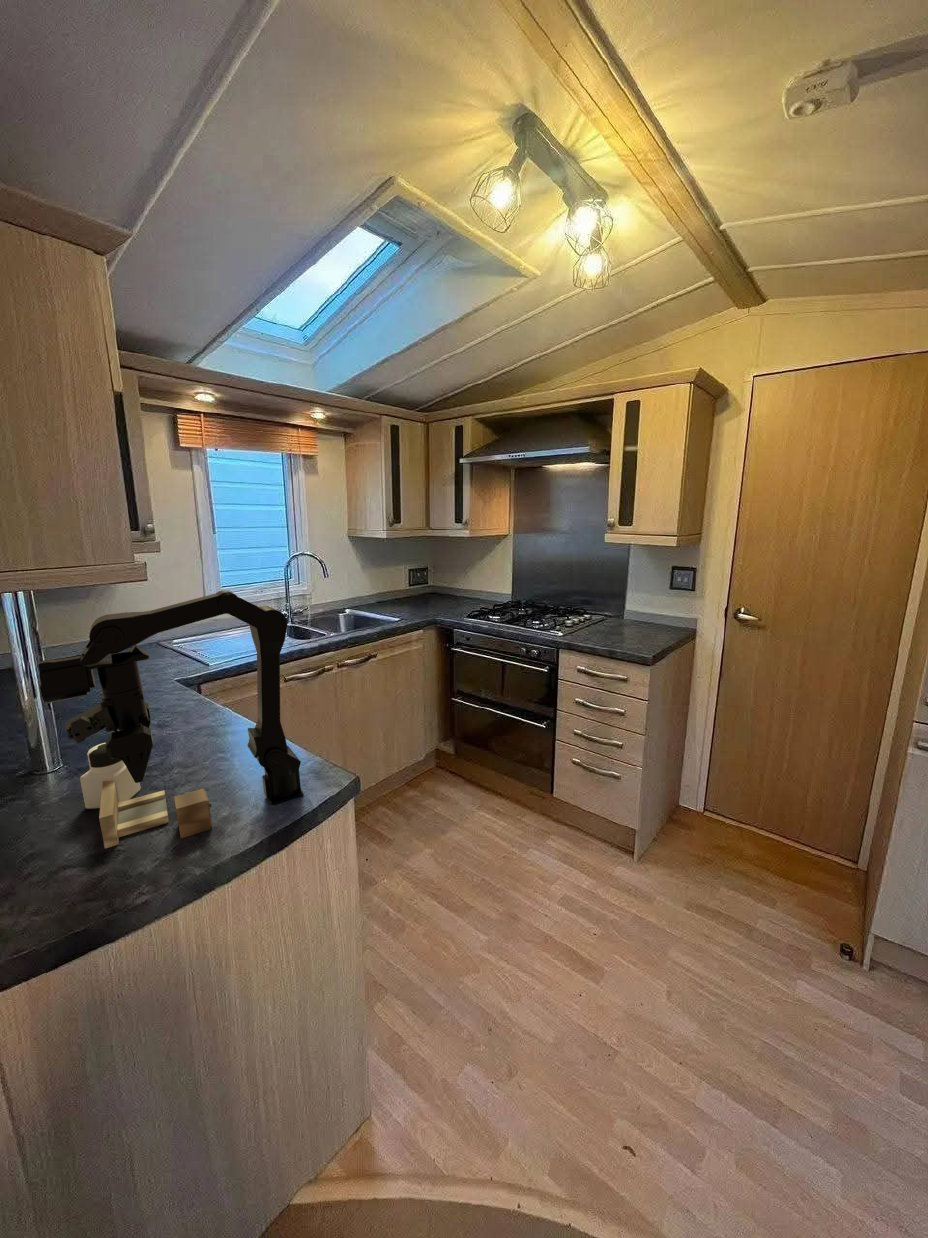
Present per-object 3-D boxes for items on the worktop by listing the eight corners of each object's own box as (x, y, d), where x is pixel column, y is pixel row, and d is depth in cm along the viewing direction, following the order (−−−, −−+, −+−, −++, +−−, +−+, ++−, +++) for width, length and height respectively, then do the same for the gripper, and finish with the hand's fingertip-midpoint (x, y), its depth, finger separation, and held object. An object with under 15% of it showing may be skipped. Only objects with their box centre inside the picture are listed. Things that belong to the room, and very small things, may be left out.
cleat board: (164, 791, 108) (160, 765, 107) (169, 828, 95) (165, 800, 93) (107, 806, 102) (103, 780, 101) (104, 848, 89) (99, 818, 88)
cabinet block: (211, 815, 99) (207, 787, 98) (215, 827, 95) (211, 799, 94) (178, 825, 96) (174, 796, 95) (180, 838, 92) (176, 809, 91)
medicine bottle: (141, 789, 109) (133, 737, 107) (120, 808, 102) (111, 753, 100) (108, 790, 109) (98, 739, 106) (84, 809, 102) (74, 754, 99)
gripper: (68, 684, 90) (87, 764, 93) (56, 717, 74) (78, 812, 78) (142, 671, 96) (156, 746, 99) (144, 699, 80) (161, 788, 84)
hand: (138, 771), depth 90 cm, fingers open, 9 cm apart
